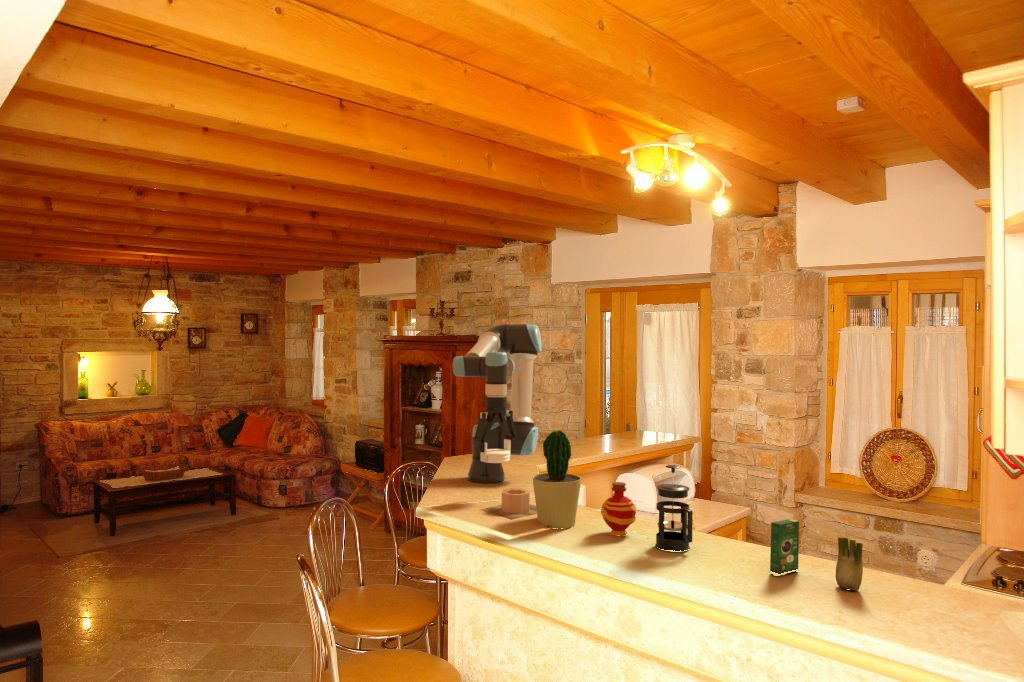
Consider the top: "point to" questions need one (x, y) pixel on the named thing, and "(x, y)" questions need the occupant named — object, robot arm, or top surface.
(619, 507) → the potion bottle
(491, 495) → the top surface
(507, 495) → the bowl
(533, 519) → the top surface
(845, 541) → the fennel bulb
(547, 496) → the potted cactus
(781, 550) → the coffee box
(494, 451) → the cream flat cylinder
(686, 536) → the french press
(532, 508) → the board
